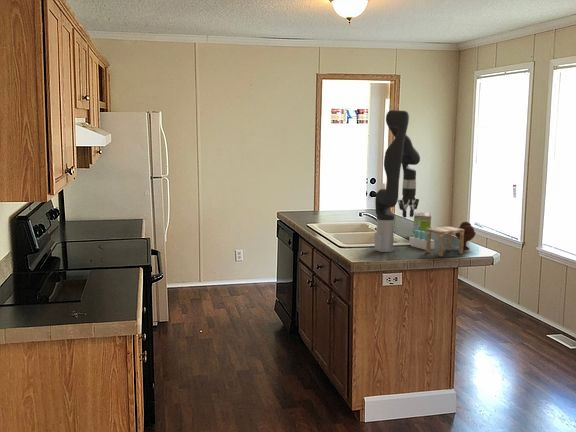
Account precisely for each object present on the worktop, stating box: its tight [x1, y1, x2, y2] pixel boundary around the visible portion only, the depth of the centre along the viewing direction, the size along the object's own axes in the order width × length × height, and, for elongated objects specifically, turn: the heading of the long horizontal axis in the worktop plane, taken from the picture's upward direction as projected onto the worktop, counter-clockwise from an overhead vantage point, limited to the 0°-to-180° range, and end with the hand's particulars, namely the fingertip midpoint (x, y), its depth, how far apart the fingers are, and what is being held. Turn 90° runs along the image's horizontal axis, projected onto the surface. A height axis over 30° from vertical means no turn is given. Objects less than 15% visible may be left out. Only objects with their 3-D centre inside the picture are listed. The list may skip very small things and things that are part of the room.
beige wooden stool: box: [425, 225, 464, 257], centre depth 324 cm, size 16×11×13 cm
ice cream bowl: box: [454, 221, 476, 251], centre depth 336 cm, size 11×11×15 cm
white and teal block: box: [408, 230, 435, 251], centre depth 340 cm, size 6×14×9 cm, turn 29°
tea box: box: [412, 211, 432, 237], centre depth 367 cm, size 15×10×15 cm
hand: (408, 216), depth 349 cm, fingers open, 4 cm apart
